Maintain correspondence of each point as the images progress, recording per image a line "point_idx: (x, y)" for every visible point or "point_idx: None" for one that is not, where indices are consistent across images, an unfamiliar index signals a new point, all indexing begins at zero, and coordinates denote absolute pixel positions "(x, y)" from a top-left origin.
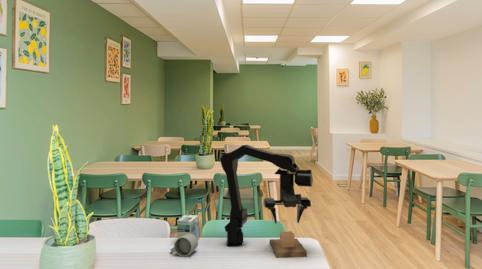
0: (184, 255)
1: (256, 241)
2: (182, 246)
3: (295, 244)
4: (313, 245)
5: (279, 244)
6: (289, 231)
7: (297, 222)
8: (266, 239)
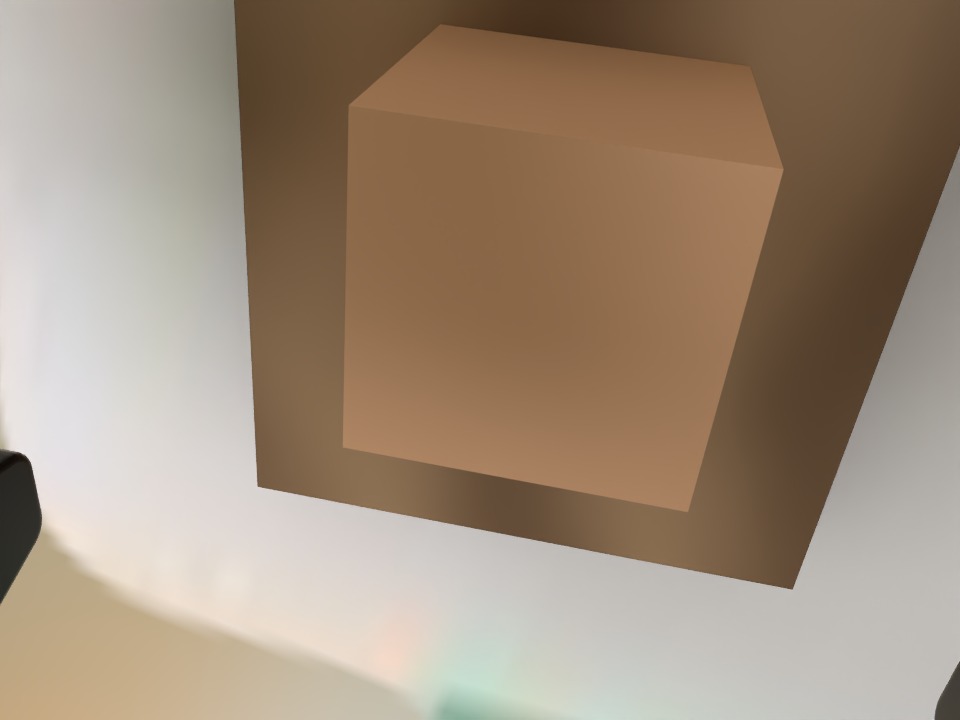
0: None
1: None
2: None
3: None
4: (29, 264)
5: None
6: (413, 443)
7: (24, 495)
8: (731, 708)
